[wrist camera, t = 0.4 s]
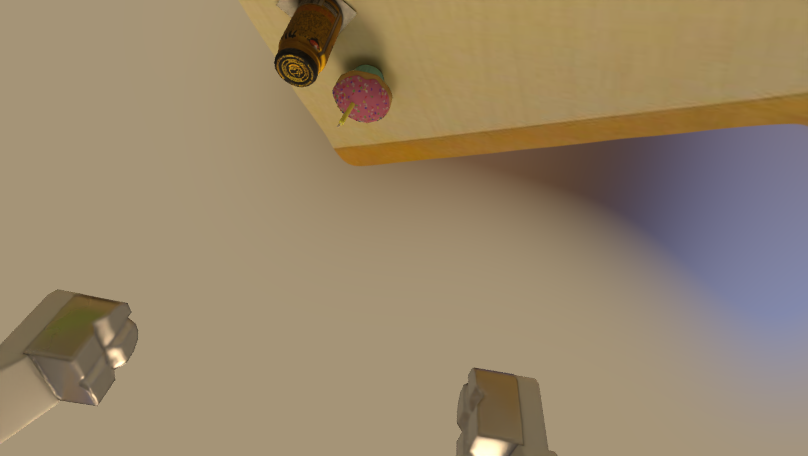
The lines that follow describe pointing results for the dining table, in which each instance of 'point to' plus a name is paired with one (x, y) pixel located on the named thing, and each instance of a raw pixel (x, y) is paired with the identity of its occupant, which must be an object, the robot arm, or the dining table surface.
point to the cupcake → (362, 95)
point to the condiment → (309, 37)
